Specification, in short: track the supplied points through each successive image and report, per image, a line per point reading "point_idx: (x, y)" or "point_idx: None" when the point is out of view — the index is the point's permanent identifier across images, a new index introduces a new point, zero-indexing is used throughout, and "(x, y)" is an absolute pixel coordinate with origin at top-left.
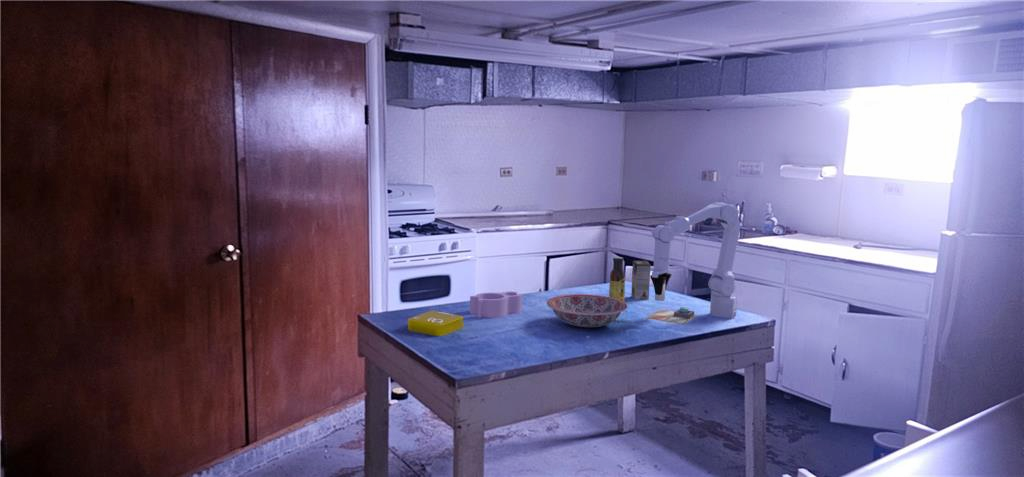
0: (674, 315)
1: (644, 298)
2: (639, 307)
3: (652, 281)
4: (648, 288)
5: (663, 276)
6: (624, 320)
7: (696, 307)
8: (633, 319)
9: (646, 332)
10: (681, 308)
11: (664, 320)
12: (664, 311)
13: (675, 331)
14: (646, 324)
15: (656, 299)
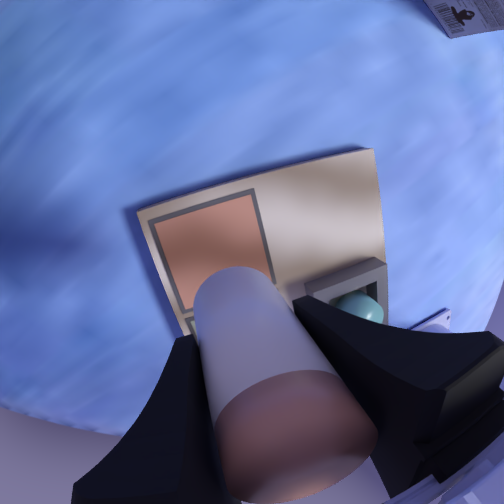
0: (306, 288)
1: (450, 20)
2: (360, 30)
3: (115, 448)
4: (493, 27)
5: (394, 456)
6: (54, 133)
7: (486, 222)
8: (109, 146)
9: (13, 338)
10: None
11: (186, 311)
12: (354, 192)
13: (126, 395)
14: (89, 262)
15: (194, 308)
